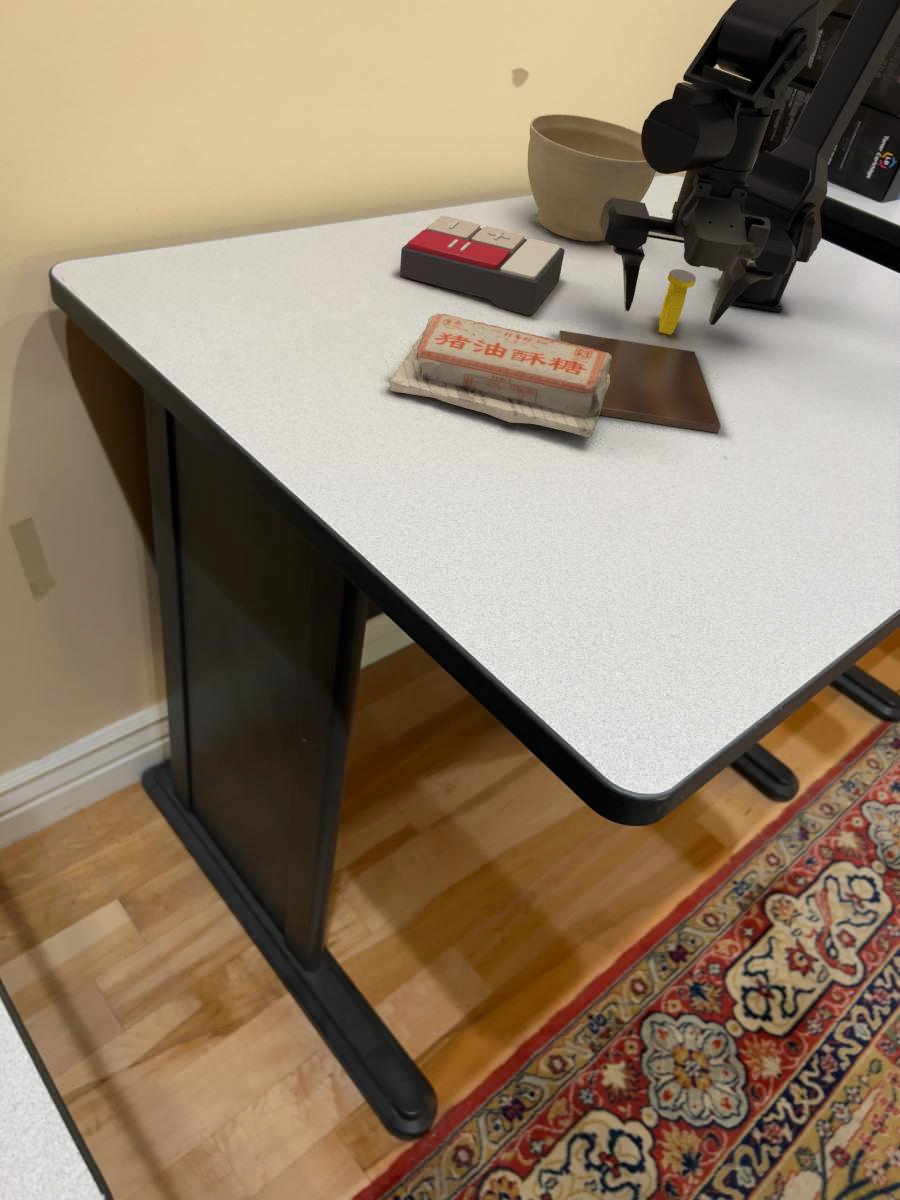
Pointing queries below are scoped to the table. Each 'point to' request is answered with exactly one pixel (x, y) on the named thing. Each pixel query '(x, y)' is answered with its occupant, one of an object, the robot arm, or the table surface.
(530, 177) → the planter bowl
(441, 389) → the packaged product
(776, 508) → the table surface
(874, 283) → the table surface
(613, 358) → the coaster
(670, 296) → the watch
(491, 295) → the calculator
